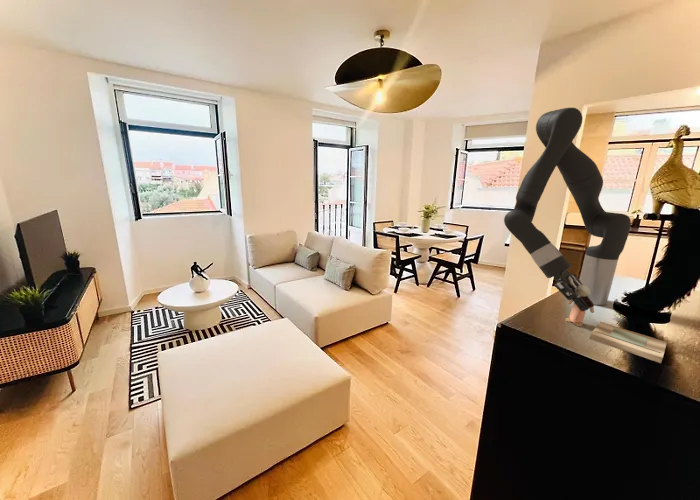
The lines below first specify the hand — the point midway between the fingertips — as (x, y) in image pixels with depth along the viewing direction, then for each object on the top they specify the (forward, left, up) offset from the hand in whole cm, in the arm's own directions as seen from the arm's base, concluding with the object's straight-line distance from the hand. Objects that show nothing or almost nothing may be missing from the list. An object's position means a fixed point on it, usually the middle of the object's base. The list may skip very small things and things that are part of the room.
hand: (587, 307), depth 87 cm
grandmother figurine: (0, -2, -6) cm, 7 cm away
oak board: (+2, +10, -6) cm, 12 cm away
